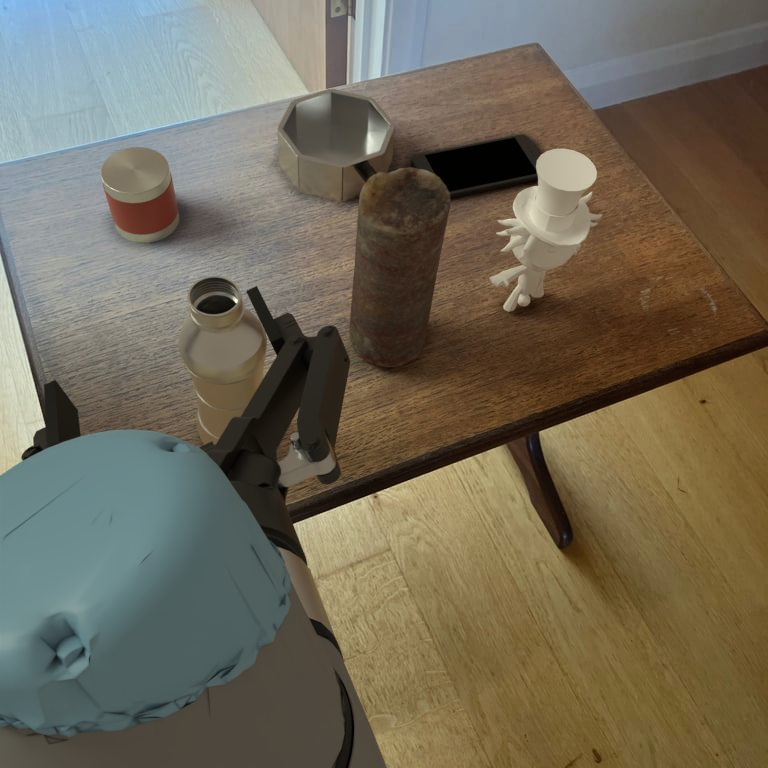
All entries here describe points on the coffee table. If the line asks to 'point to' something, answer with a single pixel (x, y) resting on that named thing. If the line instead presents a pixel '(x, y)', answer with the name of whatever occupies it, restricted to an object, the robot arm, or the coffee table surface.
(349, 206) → the coffee table surface
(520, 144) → the smartphone
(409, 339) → the candle
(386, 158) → the saucepan
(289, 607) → the robot arm
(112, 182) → the tin can
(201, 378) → the metal bottle
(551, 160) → the figurine
